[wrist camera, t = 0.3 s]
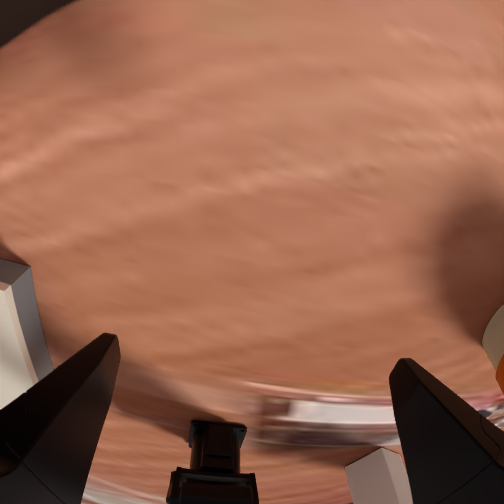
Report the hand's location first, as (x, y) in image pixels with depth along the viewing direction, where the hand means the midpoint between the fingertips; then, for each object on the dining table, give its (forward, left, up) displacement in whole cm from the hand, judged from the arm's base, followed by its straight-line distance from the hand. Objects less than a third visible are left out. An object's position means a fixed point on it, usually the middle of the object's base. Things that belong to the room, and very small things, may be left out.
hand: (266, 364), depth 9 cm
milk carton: (-36, -27, -15) cm, 48 cm away
